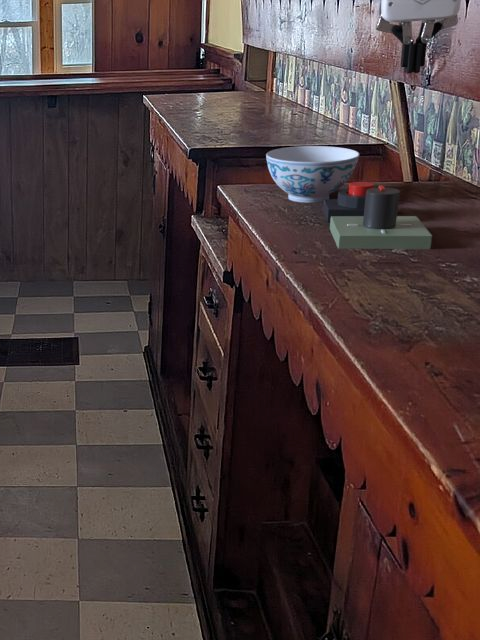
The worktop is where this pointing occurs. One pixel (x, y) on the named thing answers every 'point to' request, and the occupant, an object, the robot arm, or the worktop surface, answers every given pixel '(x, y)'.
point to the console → (379, 234)
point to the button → (359, 188)
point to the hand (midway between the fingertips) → (411, 72)
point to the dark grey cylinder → (381, 208)
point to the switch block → (344, 205)
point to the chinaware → (311, 170)
